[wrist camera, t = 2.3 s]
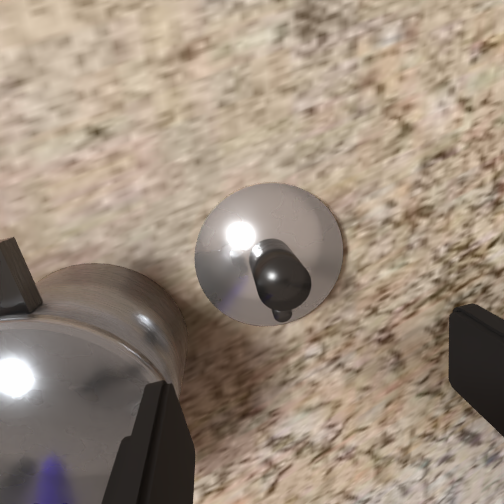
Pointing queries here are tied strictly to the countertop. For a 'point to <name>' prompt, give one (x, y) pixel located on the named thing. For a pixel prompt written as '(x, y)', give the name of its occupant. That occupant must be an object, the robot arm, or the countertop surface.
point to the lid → (268, 254)
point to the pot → (76, 373)
